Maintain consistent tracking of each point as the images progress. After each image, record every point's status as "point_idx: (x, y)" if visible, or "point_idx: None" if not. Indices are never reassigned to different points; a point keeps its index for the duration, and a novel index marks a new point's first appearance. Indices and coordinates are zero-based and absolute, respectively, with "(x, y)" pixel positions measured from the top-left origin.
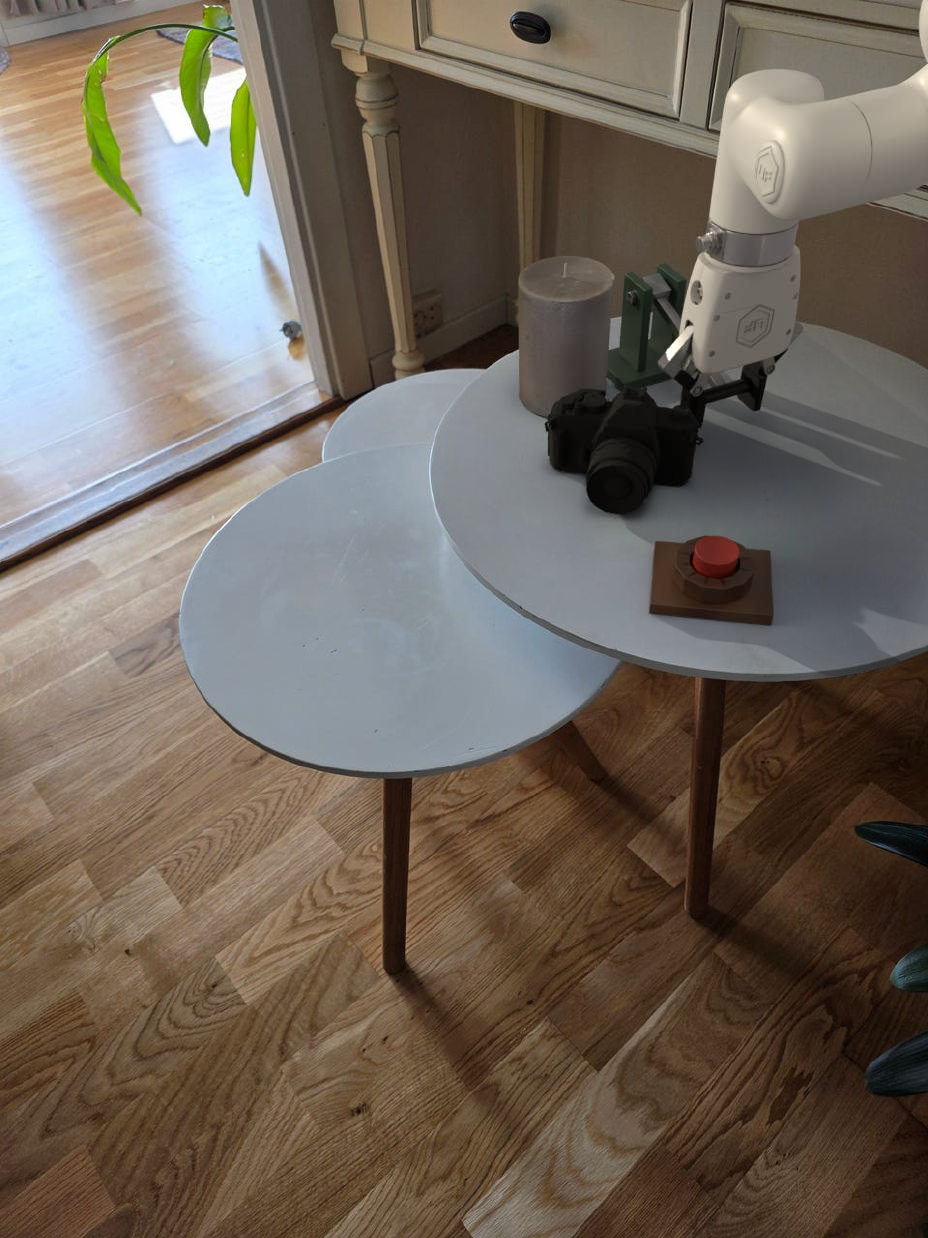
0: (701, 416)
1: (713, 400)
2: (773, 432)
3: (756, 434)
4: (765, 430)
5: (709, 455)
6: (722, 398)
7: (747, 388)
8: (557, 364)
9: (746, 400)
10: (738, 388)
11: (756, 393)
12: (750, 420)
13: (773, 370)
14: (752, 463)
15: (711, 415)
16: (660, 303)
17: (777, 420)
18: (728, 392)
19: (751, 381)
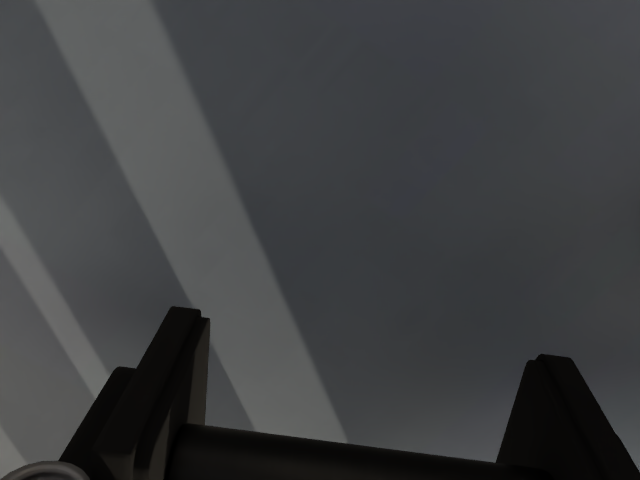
0: (580, 401)
1: (461, 464)
2: (136, 198)
3: (213, 229)
4: (159, 229)
5: (498, 227)
6: (394, 452)
7: (216, 442)
8: None
9: (201, 389)
10: (282, 467)
11: (183, 384)
12: None
13: (13, 478)
14: (380, 67)
15: (289, 419)
16: None
17: (66, 254)
18: (359, 470)
19: (172, 474)
